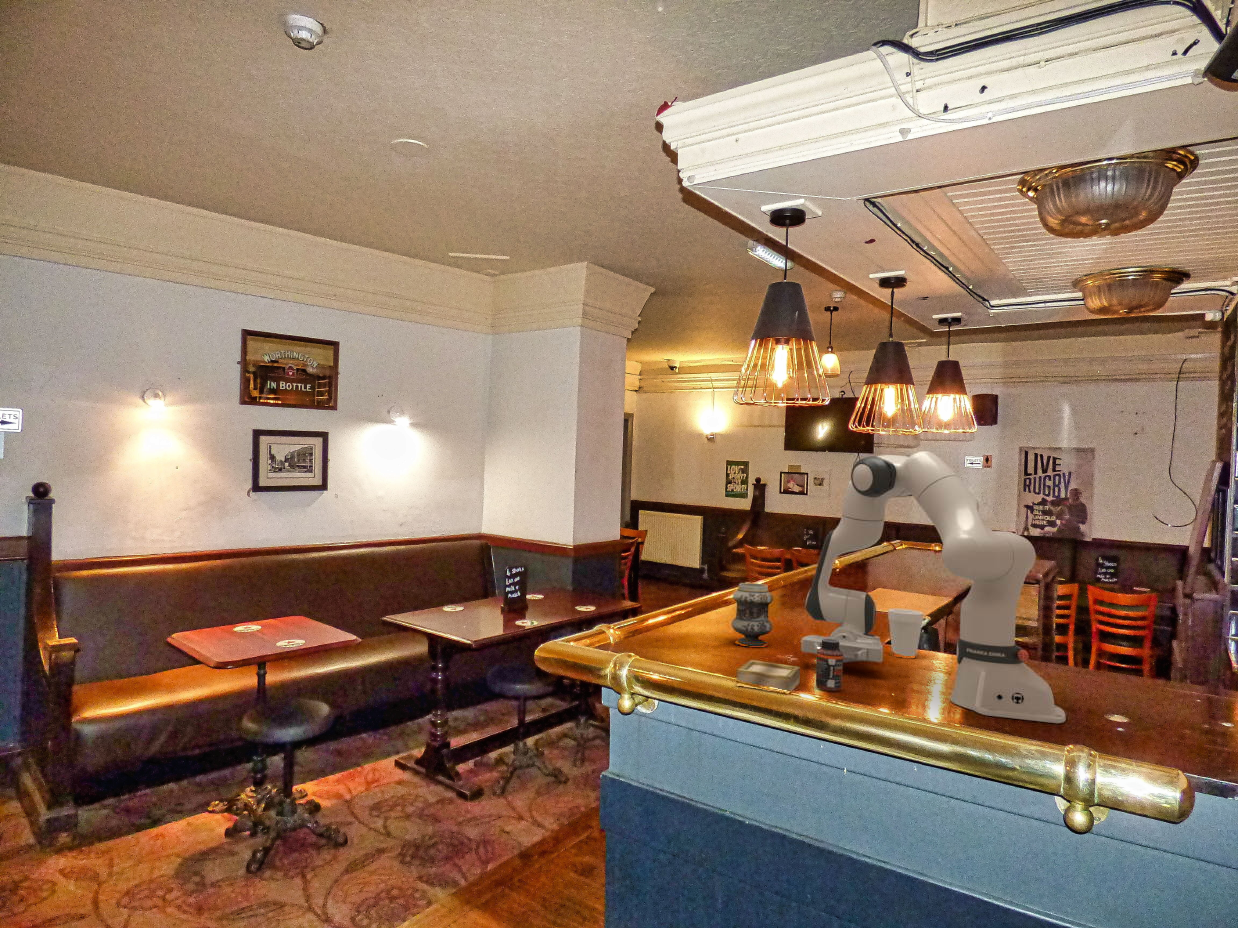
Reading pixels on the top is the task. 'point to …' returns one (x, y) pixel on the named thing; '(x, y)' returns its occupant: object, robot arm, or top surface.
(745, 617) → the apothecary jar
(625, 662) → the top surface
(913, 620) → the foam cup
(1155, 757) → the top surface
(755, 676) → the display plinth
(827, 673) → the supplement bottle
